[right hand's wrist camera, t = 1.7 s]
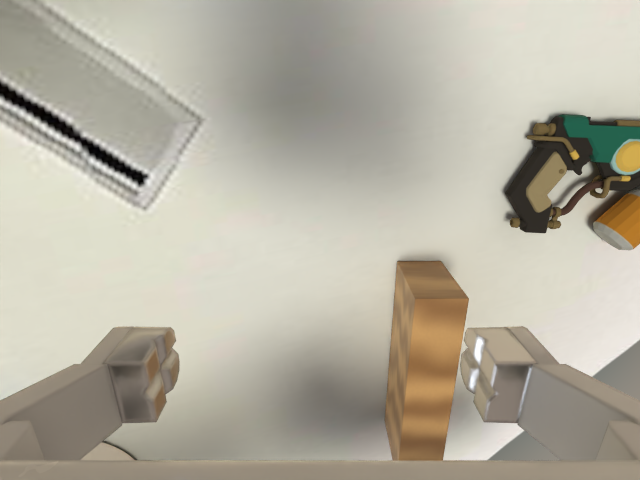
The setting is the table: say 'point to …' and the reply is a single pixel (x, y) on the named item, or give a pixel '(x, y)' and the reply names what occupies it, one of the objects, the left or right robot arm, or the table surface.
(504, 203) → the table surface
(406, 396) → the bar
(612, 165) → the spray gun
